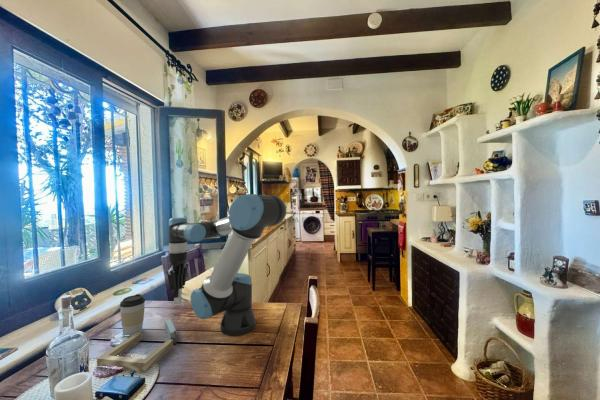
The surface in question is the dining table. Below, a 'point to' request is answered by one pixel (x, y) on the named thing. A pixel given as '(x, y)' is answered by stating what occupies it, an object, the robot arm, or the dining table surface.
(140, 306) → the coffee cup
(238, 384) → the dining table surface
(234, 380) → the dining table surface
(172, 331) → the pin
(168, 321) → the leg
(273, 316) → the dining table surface
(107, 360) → the frame
